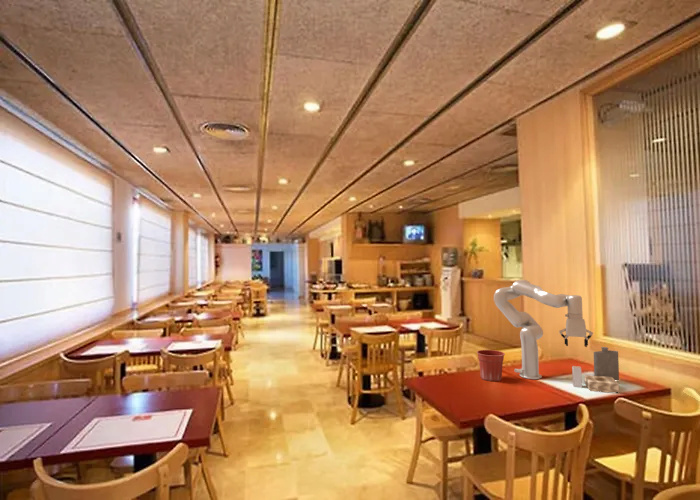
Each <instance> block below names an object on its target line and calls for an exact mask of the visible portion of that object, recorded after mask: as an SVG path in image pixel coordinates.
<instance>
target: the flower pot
mask: <svg viewBox="0 0 700 500" xmlns="http://www.w3.org/2000/svg"><path fill="white" fill-rule="evenodd" d="M476 354H477V359H478V362H479V363H478V364H479V373H480V378H481V379H482V380H484V381H488V382H493V381H495V382H499V381H501V380H502V376H503V364H504V359H505V358H504V357H505V354H506V353H505V352H503V351H499V350H495V349H480V350H477V351H476Z"/></svg>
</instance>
